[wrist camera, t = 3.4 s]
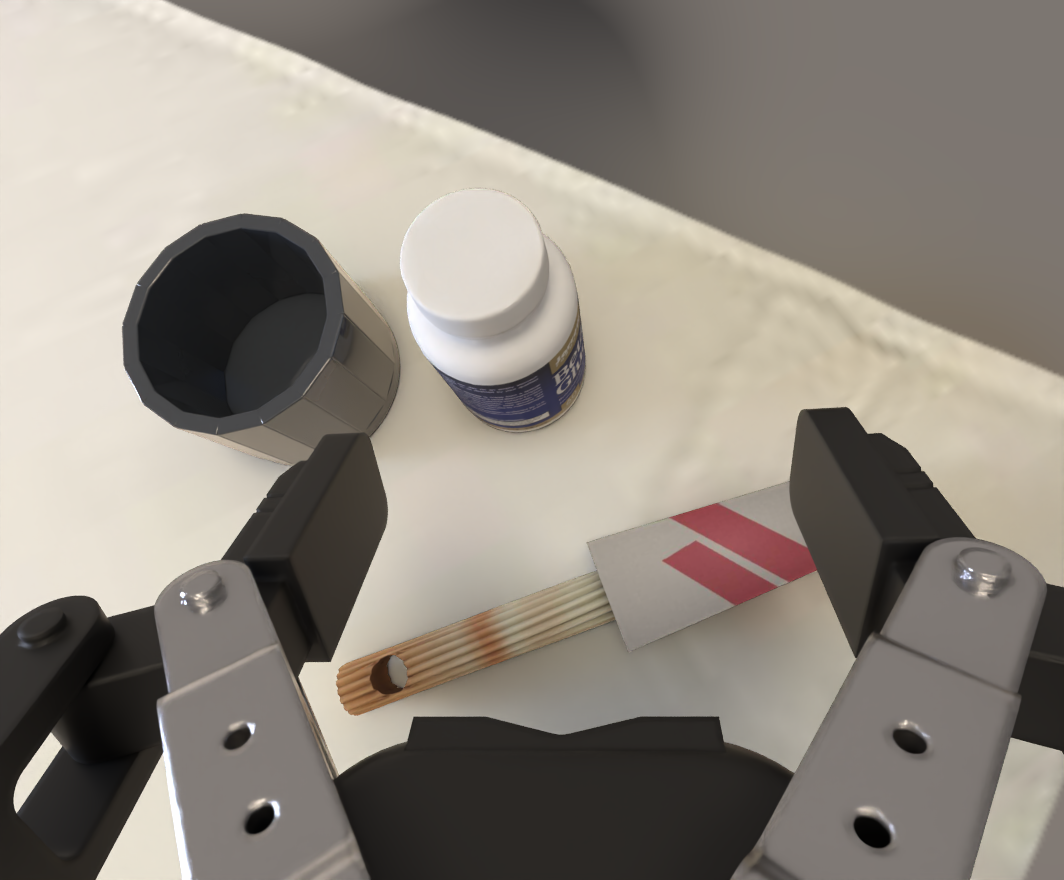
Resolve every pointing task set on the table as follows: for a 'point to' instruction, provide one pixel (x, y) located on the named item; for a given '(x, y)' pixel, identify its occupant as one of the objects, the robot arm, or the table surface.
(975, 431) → the table surface
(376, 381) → the holder
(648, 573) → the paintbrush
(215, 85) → the table surface
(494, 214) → the pill bottle
